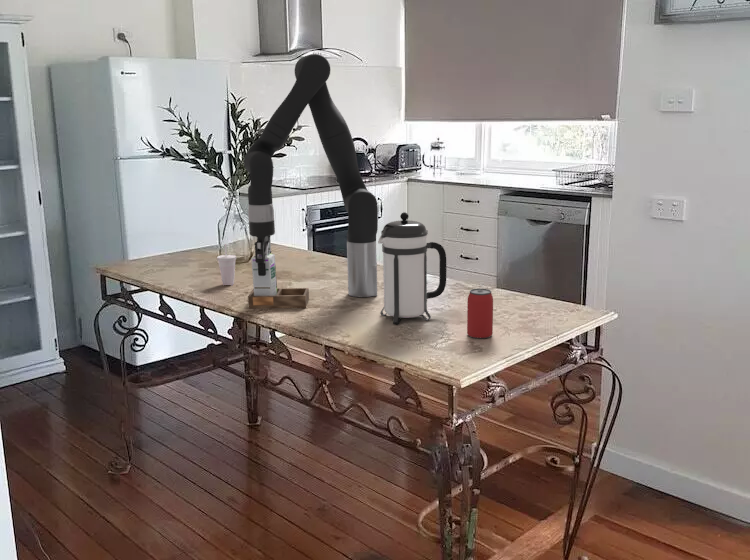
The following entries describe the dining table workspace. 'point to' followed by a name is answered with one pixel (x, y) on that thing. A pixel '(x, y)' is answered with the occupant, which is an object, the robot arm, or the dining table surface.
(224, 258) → the smoothie
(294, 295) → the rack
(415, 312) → the coffee press
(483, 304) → the beer can
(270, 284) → the syrup box
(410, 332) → the dining table surface
